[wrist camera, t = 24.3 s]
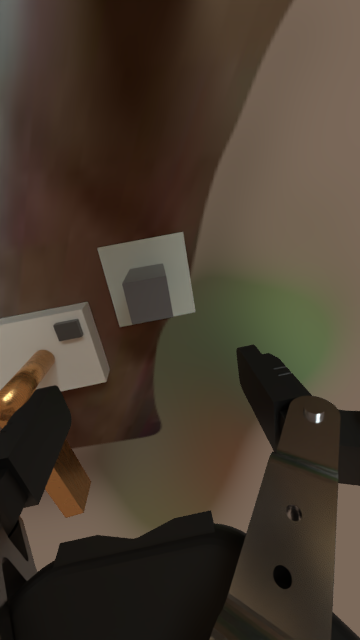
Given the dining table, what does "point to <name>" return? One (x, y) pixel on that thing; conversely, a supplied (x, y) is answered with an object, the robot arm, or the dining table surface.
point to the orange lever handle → (67, 474)
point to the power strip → (55, 346)
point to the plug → (147, 294)
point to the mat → (146, 254)
